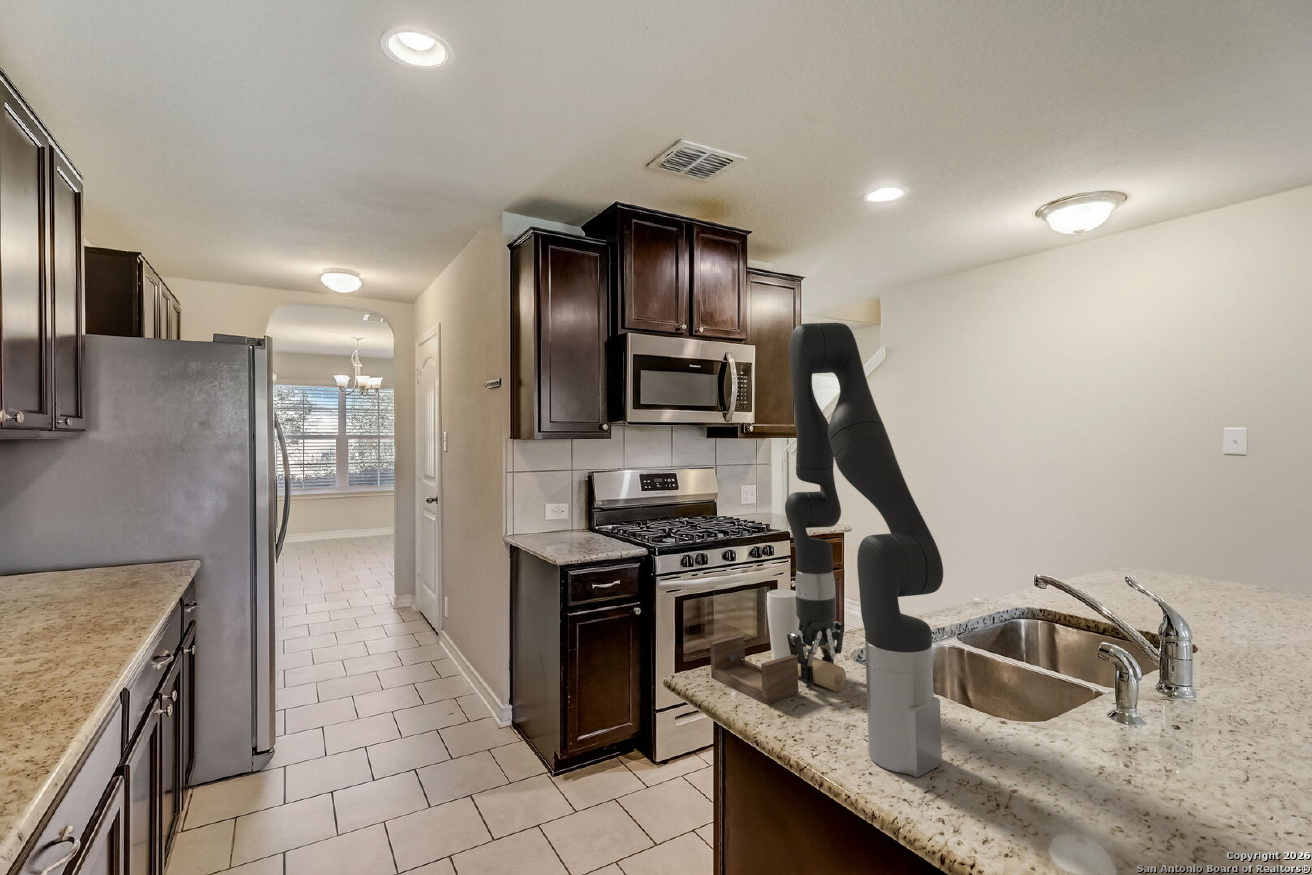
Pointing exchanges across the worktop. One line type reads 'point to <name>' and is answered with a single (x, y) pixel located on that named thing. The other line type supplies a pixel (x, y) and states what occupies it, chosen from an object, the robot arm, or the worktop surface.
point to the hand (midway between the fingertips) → (817, 679)
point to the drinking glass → (781, 620)
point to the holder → (753, 671)
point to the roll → (826, 674)
